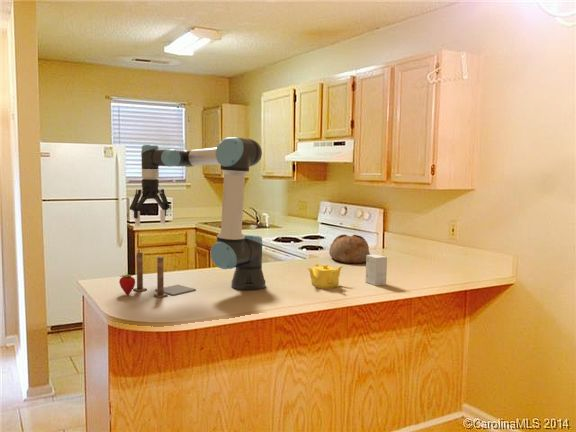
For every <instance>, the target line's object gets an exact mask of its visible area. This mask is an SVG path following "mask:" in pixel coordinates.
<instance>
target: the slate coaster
mask: <svg viewBox="0 0 576 432" xmlns="http://www.w3.org/2000/svg"><path fill="white" fill-rule="evenodd" d="M154 291H155V292H157V288H155V289H154ZM195 291H197V289H196V288H193V287H188V286H185V285H181V284H174V285H170V286H165V287H164V293H165V294H168V295H169V296H178V295H182V294H186V293H190V292H195Z"/></svg>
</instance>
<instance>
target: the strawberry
mask: <svg viewBox="0 0 576 432" xmlns="http://www.w3.org/2000/svg"><path fill="white" fill-rule="evenodd" d="M124 271H125V272H126V274H125V275H119V277H121V278H120V279H119V286H120V288H121V289H122V291H123V292H124V294H125V295H127V296H128V295H130V294H131V292H132V291H133V289H134V287H135V286H136V279H135V278H134V276H133V274H128V273H127V271H126V270H124Z"/></svg>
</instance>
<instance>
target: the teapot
mask: <svg viewBox="0 0 576 432" xmlns="http://www.w3.org/2000/svg"><path fill="white" fill-rule="evenodd" d="M314 265H315V266H313V267H312V268H311V267H310V268H309V267H306V269H307V270H308V271H309V275H310V281H311V284H312V286H314V287H316V288H318V289H322V290H326V289H336V288H339V282H340V281H339V278H340V276H341V275H340V274H341V270H342V268H343V267H344V265H341V266H340V265H339V266H338V267H337V268H335V267H332V266H329V264H322V266H321V265H319V263H318V262H315V263H314Z"/></svg>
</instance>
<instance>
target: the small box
mask: <svg viewBox="0 0 576 432" xmlns="http://www.w3.org/2000/svg"><path fill="white" fill-rule="evenodd" d="M365 264H366V265H365V283H367V284H370V285H372V286H376V287H377V286H384V285H385V286H386V285H387V270H388V257H387V256H383V255H379V254H370V255H366V262H365Z"/></svg>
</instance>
